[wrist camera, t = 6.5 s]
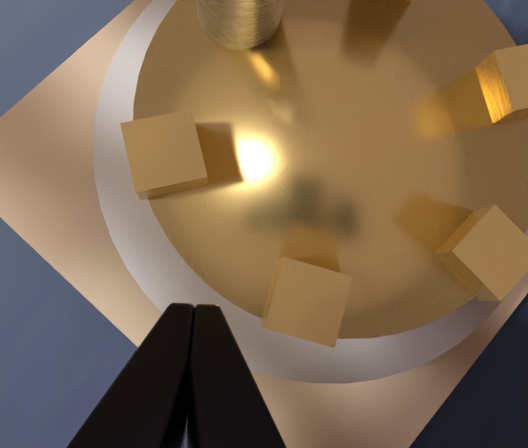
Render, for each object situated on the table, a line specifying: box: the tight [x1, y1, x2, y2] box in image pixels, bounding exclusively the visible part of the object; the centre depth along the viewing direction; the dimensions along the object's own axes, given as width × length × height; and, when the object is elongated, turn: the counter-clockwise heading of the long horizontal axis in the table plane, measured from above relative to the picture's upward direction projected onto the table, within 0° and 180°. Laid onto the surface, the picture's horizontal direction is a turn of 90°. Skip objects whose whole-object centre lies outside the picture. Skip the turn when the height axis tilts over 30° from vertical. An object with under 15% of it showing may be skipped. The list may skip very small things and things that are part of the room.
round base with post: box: [120, 0, 528, 348], centre depth 10 cm, size 12×12×11 cm
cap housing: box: [0, 0, 528, 448], centre depth 17 cm, size 18×18×3 cm
